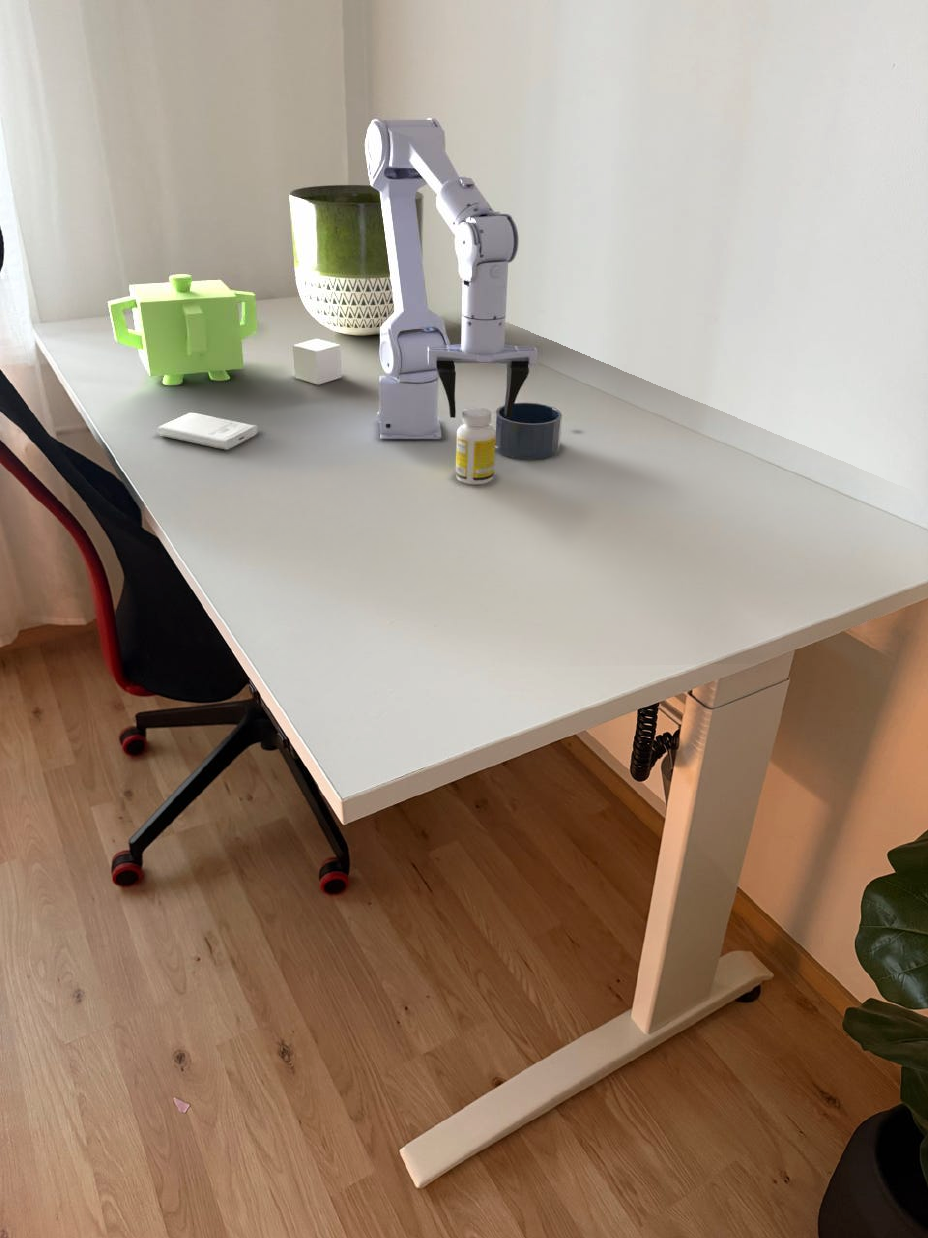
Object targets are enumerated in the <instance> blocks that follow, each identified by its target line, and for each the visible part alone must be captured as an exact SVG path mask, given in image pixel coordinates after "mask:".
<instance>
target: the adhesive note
mask: <svg viewBox="0 0 928 1238" xmlns="http://www.w3.org/2000/svg"><path fill="white" fill-rule="evenodd" d="M341 351H342V350H341V344H339V343H335V342H332V341H328V340H324V339H320V338H314V339H310V340H307V341H304V342H298V343H295V344H292V353H293V366H294V367H293V368H294V378H295V379H298V380H301V381H304V382H308V383H311V384H315V385H321V384H325V383H328V382H331V381H334V380H335V381H336V380H338V379H341V378H342V357H341V355H342V354H341Z"/></svg>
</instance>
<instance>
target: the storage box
mask: <svg viewBox="0 0 928 1238" xmlns="http://www.w3.org/2000/svg"><path fill="white" fill-rule="evenodd" d="M168 279H169V282H157V283H140V284H139V283H138V284H129V292H130V295H128V296H125V297H120V298H115V299H112V300H108V301H107V303H108V310H109V314H110V319H111V324H112V328H113V334H114V339H115V341H116V344H120V345H123V346H126V347H130V348H134V349H137V350H138V355H139V357H140V359H141V361H142V363H143V365H144V367H145V370H146V371H147V373H148V375H149V377H150V378H153V377H163V379H162V385H166V386H177V385H180V384H183V383H184V382H183V380H184V375H187V374H198V373H199V374H200V373H206V372H207V373H208V376H209V378H210V380H212V381H217V382H218V381H219V382H223V381H227V380H230V378H231V377H230V375H229V374H228V372H227V371H231V370H242V369H245V367H244V365H245V364H244V354H243V343H242V341H243V340H245V339H247V338H249V337H251V336H253V335H255V334H256V333H258V332H259V331H258V311H257V295H256V294H255V293H253V292H251V291H242V290H234V289H230V288H229V287H228V286H227V285H226V284H225V283H224V282H223V281H222V280H221V279H211V280H193V275H190V274H185V273H184V274H183V273H182V274H180V273H179V274H173V275H170V276H169V277H168ZM239 303H241V320H240V311H239ZM124 310H132V314H133V320H134V327H135V330H134V329H129V328H128V325H127V321H126V318H125V315H124V312H123V311H124Z"/></svg>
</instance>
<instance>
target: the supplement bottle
mask: <svg viewBox="0 0 928 1238" xmlns="http://www.w3.org/2000/svg"><path fill="white" fill-rule="evenodd" d="M461 415H462V416H461V421H462V423H463V424H461V425H460V426H459V427H458V428H457V430H456V452H455V453H456V455H455V456H456V458H455V476H456V479H457V480H458V481H459V482H461V483H463V484H467V485H485V484H488V483H491V481H492V480H493V479H494V474H495V455H496V453H495V452H496V449H495V427H493V426H492V425H490V424H491V422H492V411H491V410H490V409H488V408H484V407H478V406H477V407H475V406H474V407H467V408H464V409H463V411H462V414H461Z"/></svg>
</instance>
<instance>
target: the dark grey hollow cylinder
mask: <svg viewBox="0 0 928 1238" xmlns="http://www.w3.org/2000/svg"><path fill="white" fill-rule="evenodd" d="M562 424H563V414H562V412H561V410H559V409H557V408H555V406H554V407H553V406H551V405H549V404H544V403H543V404H542V403H537V402H515V403H514V406H513V410H512V415H511V418H506V416H505V404H503V405H501V406H498V407H497V409H496V410H495V411H494V430H495V452H498V453H499V454H501V455H503V456H506V457H508V458H512V459H518V460H526V461H527V460H529V461H530V460H531V461H532V460H533V461H534V460H542V459H543V460H544V459H547V458H551V457H554V456H555V455H557V454H558V453H559V451H560V446H561V435H562Z"/></svg>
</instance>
